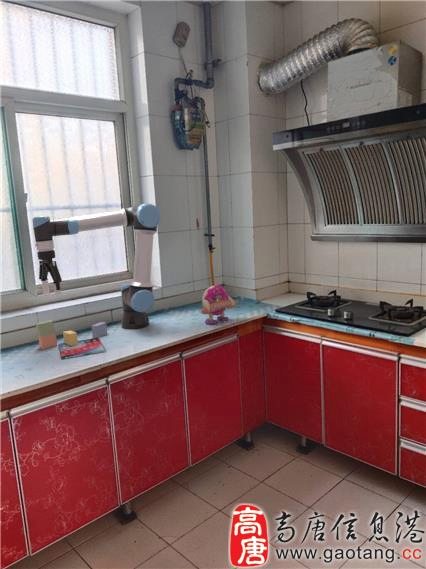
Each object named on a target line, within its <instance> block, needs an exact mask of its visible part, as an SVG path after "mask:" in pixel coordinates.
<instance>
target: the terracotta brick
mask: <svg viewBox="0 0 426 569" xmlns="http://www.w3.org/2000/svg"><path fill="white" fill-rule="evenodd" d="M37 338H38V345H39V349H42V350H45V349H49V348H52V347H57V346H58V342H57V333H56V332H55V333H54V334H50V335H46V336H42V337H39V336H37Z"/></svg>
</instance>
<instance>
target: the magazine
mask: <svg viewBox="0 0 426 569" xmlns="http://www.w3.org/2000/svg"><path fill="white" fill-rule="evenodd" d="M57 346H58V351H59V354H60V360H62V361H63V360H64V361H65V360H68V359H69V360H70V359H75V358H81V357H87V356H92V355H98V354H103V353H107V350H106V349H105V347H104V344H103V343H102V341H101V339H100V337H98V338H96V337H92V338H88V339H81V340H78V344H76V345H72V346H70V345H68V344H65V343H64V342H62V343H57Z"/></svg>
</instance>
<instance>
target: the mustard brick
mask: <svg viewBox="0 0 426 569" xmlns="http://www.w3.org/2000/svg"><path fill="white" fill-rule="evenodd" d="M62 333H63V343H65V344H68V345H70V346H72V345H76V344H78V341H79V340H78V333H77V332H76V331H73V330H67V331H63V332H62Z"/></svg>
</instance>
